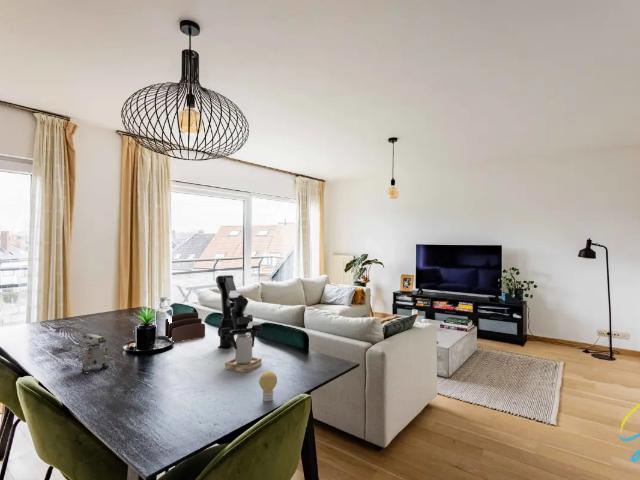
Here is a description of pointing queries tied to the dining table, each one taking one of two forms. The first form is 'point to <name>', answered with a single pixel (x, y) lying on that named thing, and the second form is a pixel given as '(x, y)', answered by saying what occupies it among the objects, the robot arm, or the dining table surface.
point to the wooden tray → (243, 365)
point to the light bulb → (268, 385)
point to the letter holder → (184, 327)
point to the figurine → (94, 352)
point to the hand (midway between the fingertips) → (244, 348)
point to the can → (243, 349)
